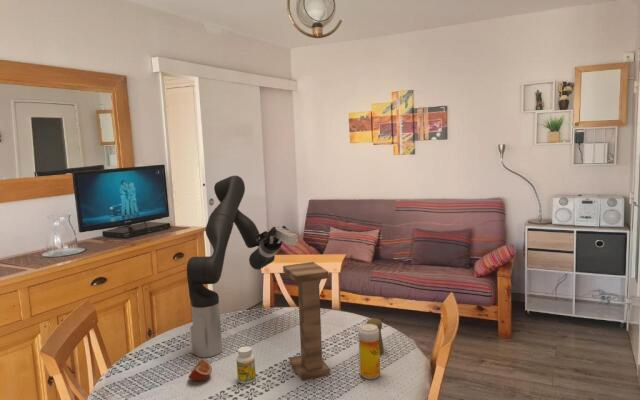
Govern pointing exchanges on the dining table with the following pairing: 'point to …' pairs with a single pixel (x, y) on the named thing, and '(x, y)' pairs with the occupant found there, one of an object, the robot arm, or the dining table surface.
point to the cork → (379, 325)
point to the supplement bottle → (245, 365)
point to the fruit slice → (201, 370)
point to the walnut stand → (308, 320)
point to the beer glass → (369, 351)
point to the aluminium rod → (286, 236)
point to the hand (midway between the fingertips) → (279, 228)
